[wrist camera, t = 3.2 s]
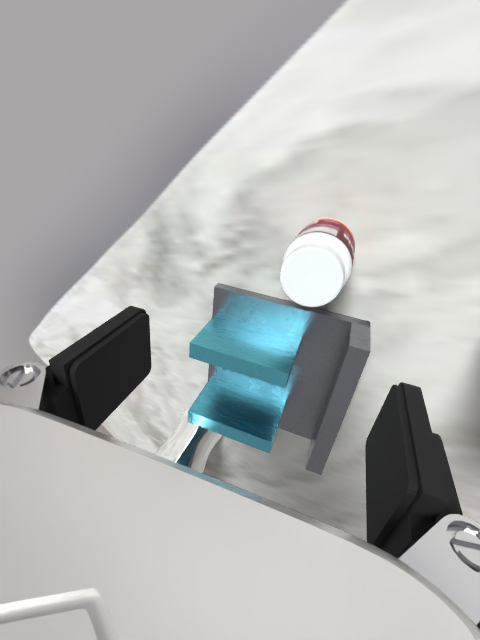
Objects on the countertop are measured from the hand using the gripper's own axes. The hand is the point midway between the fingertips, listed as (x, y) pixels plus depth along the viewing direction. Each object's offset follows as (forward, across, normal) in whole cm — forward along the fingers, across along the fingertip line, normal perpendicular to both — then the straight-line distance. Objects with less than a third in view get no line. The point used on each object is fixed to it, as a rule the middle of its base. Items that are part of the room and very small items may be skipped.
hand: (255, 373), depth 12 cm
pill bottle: (+18, -1, 0) cm, 19 cm away
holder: (+18, +1, +14) cm, 23 cm away
